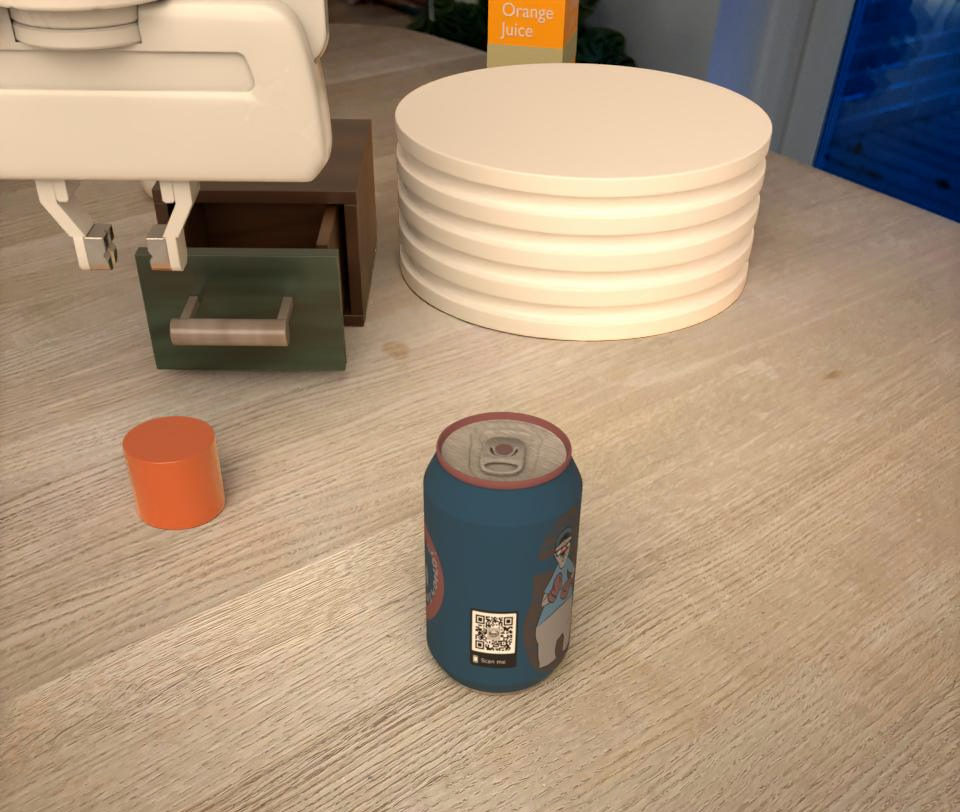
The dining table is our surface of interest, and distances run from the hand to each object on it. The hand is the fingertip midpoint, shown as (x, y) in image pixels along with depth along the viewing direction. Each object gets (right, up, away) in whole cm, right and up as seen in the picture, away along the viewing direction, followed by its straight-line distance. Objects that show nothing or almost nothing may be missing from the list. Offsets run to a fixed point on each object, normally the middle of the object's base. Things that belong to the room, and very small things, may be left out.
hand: (135, 266), depth 56 cm
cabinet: (+2, +10, +33) cm, 34 cm away
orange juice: (+22, +36, +63) cm, 76 cm away
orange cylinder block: (0, -11, +9) cm, 14 cm away
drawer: (+2, +3, +23) cm, 23 cm away
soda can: (+18, -19, 0) cm, 26 cm away
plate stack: (+25, +12, +36) cm, 45 cm away
